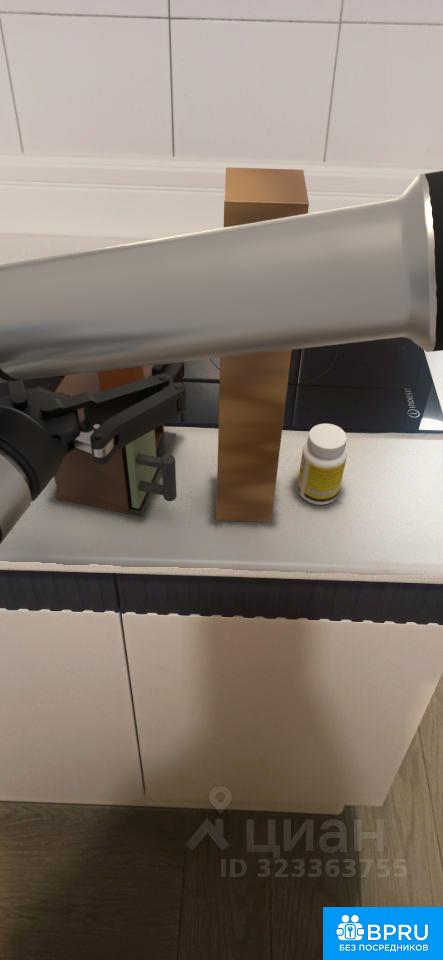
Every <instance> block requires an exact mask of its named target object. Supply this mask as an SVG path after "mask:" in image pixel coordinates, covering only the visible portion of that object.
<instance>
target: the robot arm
mask: <svg viewBox="0 0 443 960" xmlns="http://www.w3.org/2000/svg"><path fill="white" fill-rule="evenodd" d="M397 338H403V339H404V338H405V339H409V340H410V341H412V343H414V344H415V345H417V346H418V347H419V348H421V349H422V350H423V351H425V352H426V353H431V352H441V351H442V352H443V170H438V171H433V172H427V173H421V174H417V175H416V177H415V178H414V179H413V180H412V182H411V183H410V184H409V185H408V187H407V188H406V189H405V191H404V192H402V194H401V195H399V196H398V197H396V198H392V199H387V200H381V201H375V202H369V203H368V202H367V203H364V204H363V203H362V204H357V205H350V206H345V207H339V208H334V209H327V210H322V211H321V210H320V211H315V212H308V214H302V215H296V216H290V217H284V218H279V219H273V220H267V221H261V222H255V223H249V224H243V225H237V226H231V227H225V228H224V227H219V228H214V229H206V230H202V231H194V232H190V233H189V232H188V233H183V234H178V235H177V234H176V235H171V236H164V237H159V238H153V239H146V240H142V241H141V240H140V241H135V242H129V243H123V244H117V245H111V246H105V247H99V248H93V249H88V250H87V249H86V250H81V251H75V252H70V253H64V254H57V255H51V256H46V257H45V256H44V257H39V258H33V259H26V260H20V261H15V262H10V263H3V264H0V384H5V383H7V386H8V389H9V394H8V395H6V396H3V397H1V398H0V545H1V544H2V543H3V541H5V539H6V538H7V537H8V535H9V534H10V533H11V531H12V530H13V529H14V527H15V526H16V525H17V524H18V522H19V521H20V519H21V518H22V517H23V516H24V514H25V513H26V512H27V511H28V509H29V508H30V507H31V506H32V505H31V504H32V502H34V501H35V500H37V499H38V498H39V496H40V495H41V494H42V492H43V491H44V490H45V488H46V487H47V486H48V484H49V483H50V482H51V481H52V480H53V478H54V475H55V474H56V473H57V471H58V469H59V467H60V465H61V463H62V461H63V459H64V457H65V456H66V455H67V454H69V453H70V452H72V451H74V450H76V449H81V450H83V451H85V452H88V453H90V454H93V459H94V462H95V463H96V464H99V465H103V464H105V463H107V462H108V461H109V460H110V459H111V458H112V457H113V455H114V454H115V453H116V452H117V451H118V450H119V449H120V448H122V447H124V446H126V445H127V444H129V443H131V442H133V441H134V440H136V439H138V438H140V437H142V436H143V435H145V434H147V433H149V432H150V431H152V430H154V429H156V428H157V427H159V426H161V425H163V424H164V425H165V424H167V423H168V422H170V421H172V420H173V419H175V418H177V417H179V416H180V415H182V414H184V413H185V412H186V411H187V387H186V385H185V384H184V383H182V382H181V381H182V379H183V378H184V376H185V362H193V361H195V362H196V361H201V360H203V361H204V360H211V359H212V360H213V359H220V358H222V357H230V356H239V355H248V354H257V353H266V352H274V351H283V350H301V349H309V348H318V347H319V348H320V347H326V346H336V345H345V344H352V343H361V342H370V341H379V340H387V339H388V340H390V339H397ZM151 365H154V366H153V367H152V368H151V369H152V376H151V377H148V378H145V379H141V380H138V381H135V382H132V383H128V384H125V385H122V386H119V387H116V388H112V389H109V390H106V391H103V392H99V393H96V394H93V395H91V394H90V393H88V392H83V393H80V394H77V395H73V396H70V395H68V394H64V393H57V392H55V391H51V390H49V389H47V388H46V387H42V386H40V385H37V386H36V387H34V388H28V389H27V388H26V387H25V383H24V381H26V380H35V379H44V378H53V377H54V378H55V377H61V376H62V377H63V376H66V375H72V374H80V373H89V372H98V371H107V370H116V369H125V368H133V367H142V366H151ZM80 408H83V410H84V416H85V419H84V420H83V421H81V422H79V416H78V411H77V409H80Z"/></svg>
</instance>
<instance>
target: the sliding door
mask: <svg viewBox="0 0 443 960" xmlns="http://www.w3.org/2000/svg"><path fill="white" fill-rule="evenodd" d="M125 447H126V456H127V465H128V473H129V482H130V491H131V500H132V507H133V508H138V509H139V508H140V506H141V503H142V501H143V499H144V497H145V494H146V492H149V493H152V494H154V495H159V496H163V497H162V498H163V499H164V500H165V501H166V502H173V501H175V500H176V499H177V493H178V492H177V470H176V469H177V467H176V457H175V456H174V455H173V454H171V453H170V454H167V455H164V456H163V457H162V458H160V457H156V444H155V430H152V431H150V432H149V433H147V434H145V435H143V436H142V437H140V438H138V439H136V440H135V441H133V442H131V443H129V444H127V445H126V446H125ZM157 468H161V469H162V472H161V481H162V482H161V483H162V484H161V483H157V484H156V483H151V481H152V479H153V476H154V474H155V472H156V470H157Z"/></svg>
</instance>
